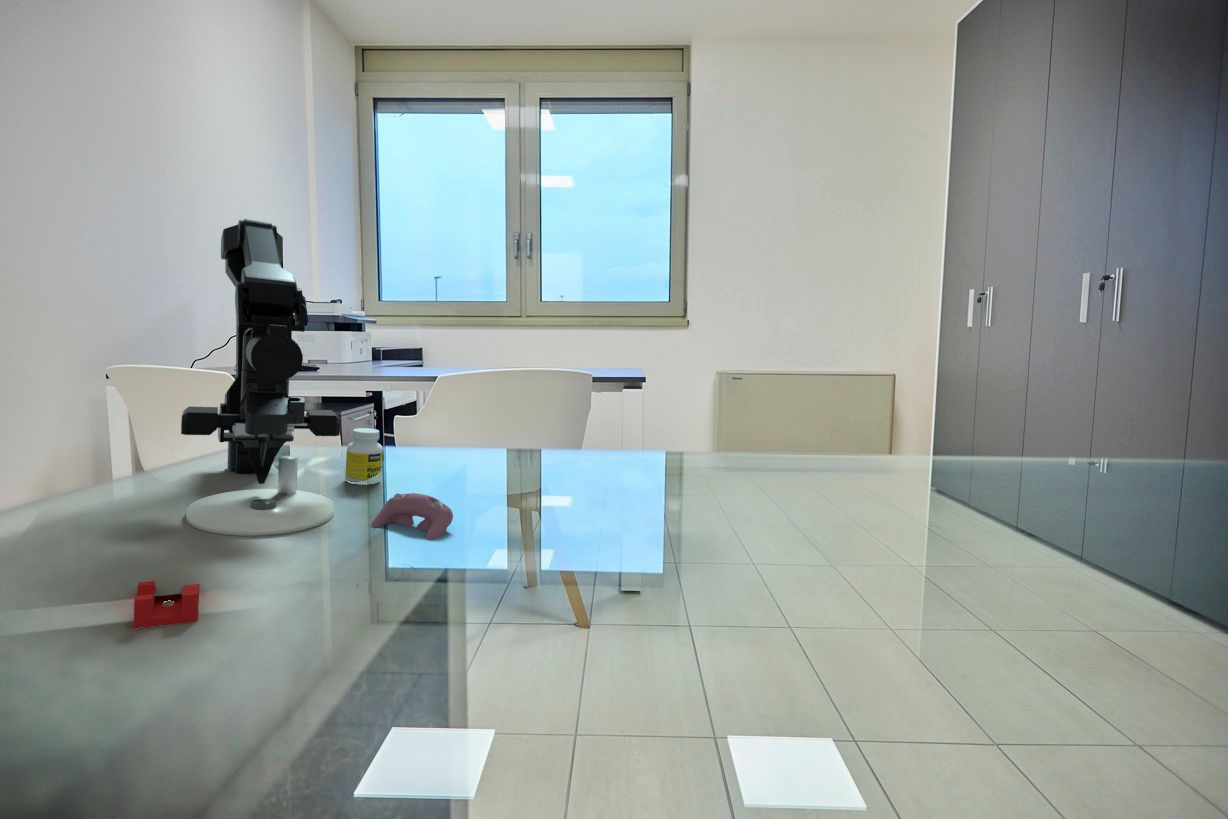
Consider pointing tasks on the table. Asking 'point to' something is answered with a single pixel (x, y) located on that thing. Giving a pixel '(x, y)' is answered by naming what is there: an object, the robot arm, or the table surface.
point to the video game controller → (416, 513)
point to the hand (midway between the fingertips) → (261, 483)
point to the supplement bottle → (363, 455)
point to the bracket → (154, 613)
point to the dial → (262, 508)
